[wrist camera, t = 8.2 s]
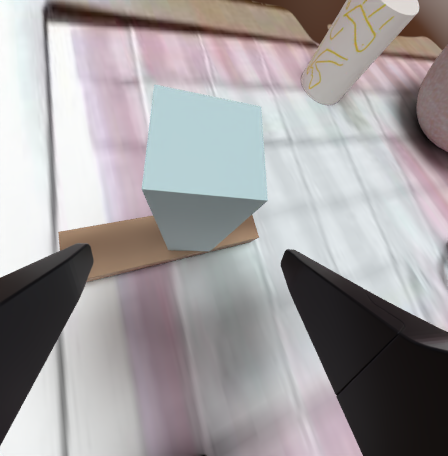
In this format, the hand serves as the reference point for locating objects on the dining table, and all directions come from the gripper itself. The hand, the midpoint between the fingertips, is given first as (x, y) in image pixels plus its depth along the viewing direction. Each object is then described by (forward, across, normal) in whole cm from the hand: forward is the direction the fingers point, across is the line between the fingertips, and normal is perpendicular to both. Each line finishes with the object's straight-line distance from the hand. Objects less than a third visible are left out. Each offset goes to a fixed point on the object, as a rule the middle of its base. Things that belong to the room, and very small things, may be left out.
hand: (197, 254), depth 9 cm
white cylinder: (+32, -22, -14) cm, 41 cm away
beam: (+11, +2, +7) cm, 13 cm away
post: (+9, 0, +4) cm, 10 cm away
